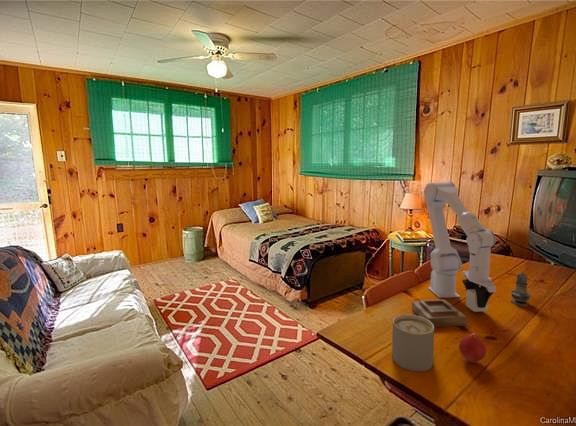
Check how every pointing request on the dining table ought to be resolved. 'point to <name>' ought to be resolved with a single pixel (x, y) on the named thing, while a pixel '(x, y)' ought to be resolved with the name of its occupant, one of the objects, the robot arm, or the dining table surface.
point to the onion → (472, 348)
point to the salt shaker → (520, 291)
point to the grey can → (413, 342)
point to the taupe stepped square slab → (439, 313)
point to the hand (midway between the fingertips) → (476, 303)
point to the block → (473, 301)
